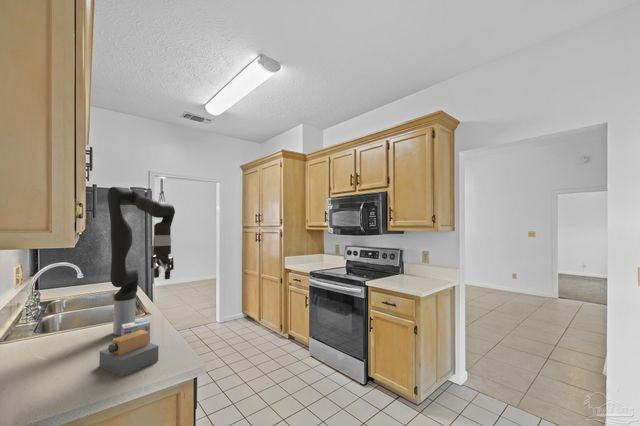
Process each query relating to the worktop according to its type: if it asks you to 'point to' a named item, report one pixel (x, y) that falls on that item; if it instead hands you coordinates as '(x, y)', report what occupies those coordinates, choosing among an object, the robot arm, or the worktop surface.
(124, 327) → the light bulb box
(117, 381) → the worktop surface
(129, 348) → the block
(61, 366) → the worktop surface
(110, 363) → the stand
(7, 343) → the worktop surface
